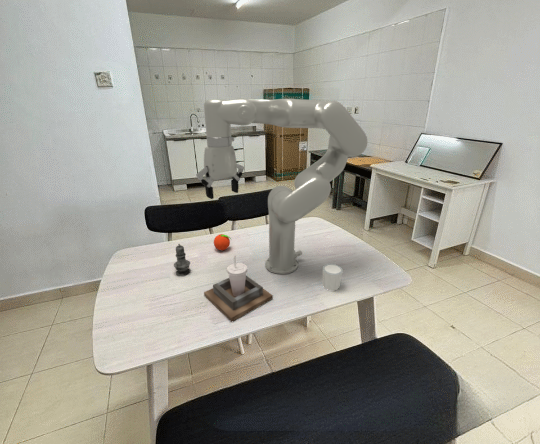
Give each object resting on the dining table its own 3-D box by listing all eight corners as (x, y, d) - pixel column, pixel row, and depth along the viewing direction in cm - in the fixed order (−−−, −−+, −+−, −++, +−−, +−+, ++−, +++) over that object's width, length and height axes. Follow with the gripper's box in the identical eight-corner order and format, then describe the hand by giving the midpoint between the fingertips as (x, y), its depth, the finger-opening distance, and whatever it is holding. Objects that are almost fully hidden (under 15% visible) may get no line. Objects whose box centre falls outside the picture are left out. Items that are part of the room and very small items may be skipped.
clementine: (234, 246, 127) (233, 231, 124) (230, 253, 121) (229, 238, 118) (216, 245, 128) (215, 230, 125) (212, 252, 121) (210, 237, 119)
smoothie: (229, 288, 97) (226, 251, 91) (248, 287, 97) (246, 250, 91) (228, 300, 91) (225, 261, 85) (248, 299, 91) (247, 260, 86)
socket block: (243, 277, 105) (243, 267, 103) (272, 299, 94) (272, 287, 92) (204, 295, 95) (203, 284, 93) (231, 322, 84) (230, 309, 82)
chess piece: (186, 277, 105) (182, 248, 100) (172, 275, 106) (167, 246, 101) (193, 268, 110) (190, 240, 106) (179, 267, 111) (175, 239, 107)
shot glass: (329, 294, 96) (331, 276, 93) (317, 283, 101) (318, 266, 99) (345, 288, 99) (347, 271, 96) (332, 278, 104) (334, 261, 101)
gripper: (235, 138, 97) (237, 187, 104) (188, 143, 87) (194, 197, 94) (248, 141, 92) (250, 192, 99) (200, 146, 82) (205, 203, 88)
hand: (223, 194), depth 96 cm, fingers open, 9 cm apart
